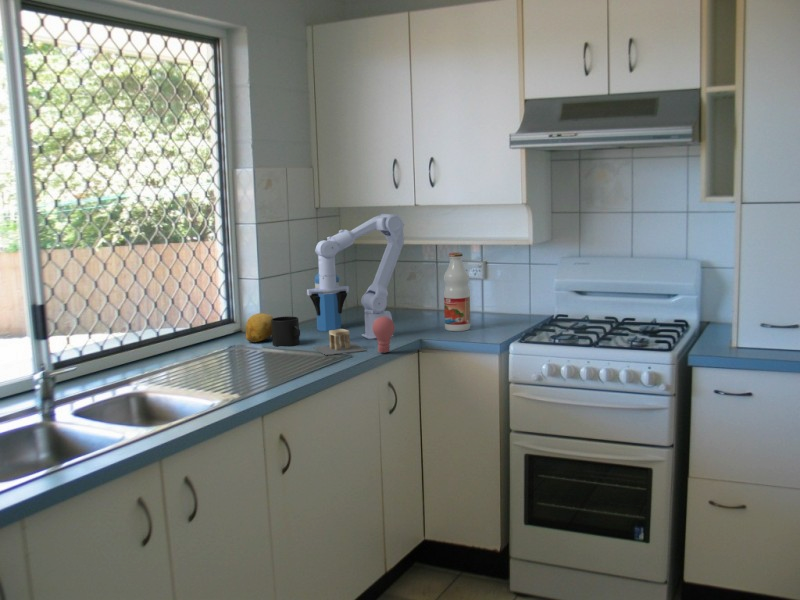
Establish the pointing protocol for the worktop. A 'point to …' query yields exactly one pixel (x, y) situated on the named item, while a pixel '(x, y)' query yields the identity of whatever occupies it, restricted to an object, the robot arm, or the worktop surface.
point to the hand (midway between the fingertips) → (329, 314)
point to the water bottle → (328, 309)
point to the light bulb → (383, 332)
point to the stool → (335, 339)
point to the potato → (258, 327)
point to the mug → (285, 331)
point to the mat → (329, 351)
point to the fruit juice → (456, 295)
